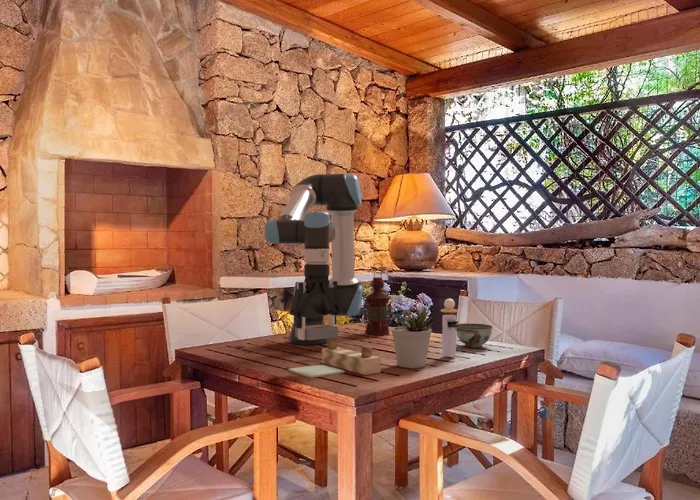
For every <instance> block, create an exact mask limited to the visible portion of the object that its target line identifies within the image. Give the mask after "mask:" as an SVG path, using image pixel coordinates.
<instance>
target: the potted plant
mask: <svg viewBox="0 0 700 500" xmlns="http://www.w3.org/2000/svg"><path fill="white" fill-rule="evenodd" d="M428 305H429V304H428V303H426V304H425V305H423V304H421V312H419V309H418V308H417V307H415V306H414V304H412V306H413V307H414V309H415V311H416V316H417V317H416V316H415V314H413V313H412V312H410V311H408V310H407V309H403V311H404V312H403V311H401V313H402V314H404V315H406V316H403V315H400V314H398V313H396V315H397V316H398V317H400V318H402V319H403V320H404V321H405V322H406V323H408V324H406V323H405V322H404V321H401V320H399V319H398V320H397V322H399V323H401V324H403V325H404V326H396V327H392V328H391V334H392V340H393V344H394V351H395V359H396V363H397V366H399V367H401V368H406V369H420V368H423V367H425V366H426V363H427V358H428V352H429V348H430V347H429V346H430V340H431V336H432V330H433V329H432V324H433V323H434V320H433V321H432V323H431V324H429V325H427V323H428V322H429V321H430V320H431V319H433V317H432V316H431V317H430V318H427V316H428V314H429V311H430V309H431V307H429V308H428ZM423 306H424V307H423ZM427 309H428V310H427ZM426 319H427V320H426ZM425 320H426V321H425Z"/></svg>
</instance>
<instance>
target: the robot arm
mask: <svg viewBox="0 0 700 500" xmlns="http://www.w3.org/2000/svg"><path fill="white" fill-rule="evenodd" d="M361 190H362V189H361V184H360V181H359V177H358V176H357V175H356V174H353V173H332V174H331V173H326V174H323V173H322V174H320V173H319V174H318V173H317V174H313V175H310V176H307V177H305V178H303V179H302V180H300V181H299V182H297V183H296V184H295V185H294V186H293V188H292V190H291V191H290V194H289V196H290V198H289V200H288V201H287V203H286V205H285V206H284V209H283V210H282V212H281V213H280V215H279V216H278V218H277V219H275V218H274V219H268V220H266V223H265V225H264V238H265V240H266V242H267V243H269V244H277V245H280V244H282V245H285V244H286V245H287V244H292V245H293V244H298V245H299V244H300V245H301V244H302V245H303V244H304V252H303V256H304V257H303V262H304V263H305V264H304V265H303V266H304V267H303V269H304V270H303V276H304V281H296V282H295V286H294V287H293V296H292V298H293V299H292V303H291V307H290V309H289V310H290V311H289V315H291V316H293V322H292V326H291V329H290V333H289V335H288V343H289V344H291V345H292V344H293V345H297V346H298V345H300V346H313V345H314V346H315V345H316V346H317V345H324V344H327V339H328V338H325V339H316V340H307V339H305V326H309V325H320V324H324V325H325V323H324V322H325V321H324V320H325V319H324V316H327V318H326V319H327V320H326V321H327V324H326V325H329V326H335V327H336V325H337V316H341V317H342V316H343V317H344V316H345V317H351V316H353V317H355V316H357V315H358V314H359V313H360V310H361V307H362V301H363V293H364V292H363V289H364V288H363V287H364V286H363V285H360V284H359V279H358V278H356V277H355V231H354V230H355V224H354V223H355V222H354V221H355V219H354V217H355V216H354V214H355V213H356V212H357V211H358V207H360V206H361V205H362V204H363V202H362V191H361ZM314 206H326V211H309V209H311V208H313V207H314ZM330 243H331V275H332V276H331V277H330V279H329V276H330V264H328V263H330ZM295 327H296V328H298V337H295Z"/></svg>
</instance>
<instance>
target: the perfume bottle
mask: <svg viewBox="0 0 700 500" xmlns="http://www.w3.org/2000/svg"><path fill="white" fill-rule="evenodd" d="M443 305H444V308H441V309H440V312H441V313H458V312H459V309H455V305H456V302H455V300H454V299H452V298H450V297H449V298H446V299H445V300H444V303H443ZM458 324H459V320H457V315H454V314H443V315H442V324H441V325H442V328H441V329H442V333H441V335H442V337H441V339H442V343H441V347H442V348H441V350H442V353H441V354H442V356H444V357H456V356H457V355H456V354H457V331H456V327H457V329H458Z"/></svg>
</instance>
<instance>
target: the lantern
mask: <svg viewBox="0 0 700 500" xmlns="http://www.w3.org/2000/svg"><path fill="white" fill-rule="evenodd" d="M377 265H380V266H381V269H380V276H377V277H375V275H376V274H375V269H374V268H375V266H377ZM372 270H373V278H372V280H371V282H370V285H371V287H372V289H371V293H370V294H368V295H365V296H364V299H366V301H365V302H363V307H362V308H363V323H364V326H365V332H364V335H366V334H367V335H366V336H369V335H374V336H373V337H382V336H383V335H386V336H390V330H389V329H390V327H389V326H390V324H391V323H392V307H393V306H392V302H391V301H389V300H390V299H391V296H388V295H387V294H386V293H384V292H383V291H384V285H385V282H384V279H383V277H382V272H383V263H380V262H379V263H374V264H373V266H372ZM366 309H367V310H368V311H367V310H366ZM387 312H388V314H387ZM387 322H388V323H387ZM383 337H384V336H383Z"/></svg>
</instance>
